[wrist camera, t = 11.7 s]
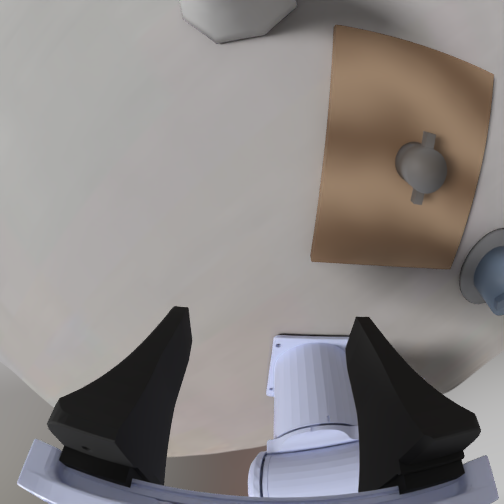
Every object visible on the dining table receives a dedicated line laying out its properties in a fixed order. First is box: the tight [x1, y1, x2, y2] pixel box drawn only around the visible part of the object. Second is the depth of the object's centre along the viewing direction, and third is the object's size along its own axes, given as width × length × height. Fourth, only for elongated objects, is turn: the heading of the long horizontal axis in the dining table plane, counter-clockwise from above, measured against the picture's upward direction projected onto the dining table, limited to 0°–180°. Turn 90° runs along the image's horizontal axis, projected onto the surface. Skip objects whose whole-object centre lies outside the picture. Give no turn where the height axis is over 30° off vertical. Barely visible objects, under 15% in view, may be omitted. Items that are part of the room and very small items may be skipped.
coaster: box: [460, 228, 504, 304], centre depth 22 cm, size 8×8×1 cm
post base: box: [310, 25, 494, 269], centre depth 17 cm, size 16×12×3 cm
